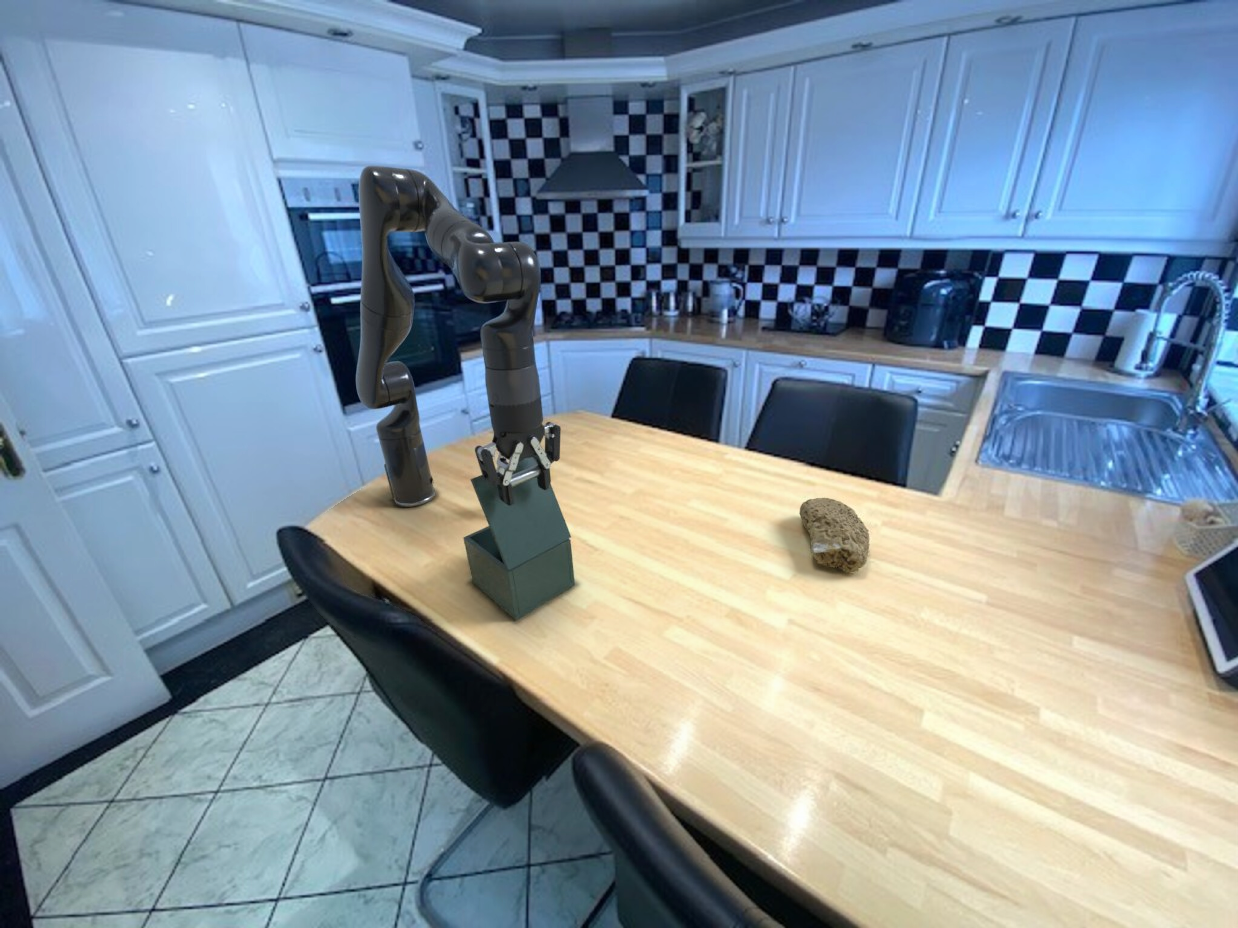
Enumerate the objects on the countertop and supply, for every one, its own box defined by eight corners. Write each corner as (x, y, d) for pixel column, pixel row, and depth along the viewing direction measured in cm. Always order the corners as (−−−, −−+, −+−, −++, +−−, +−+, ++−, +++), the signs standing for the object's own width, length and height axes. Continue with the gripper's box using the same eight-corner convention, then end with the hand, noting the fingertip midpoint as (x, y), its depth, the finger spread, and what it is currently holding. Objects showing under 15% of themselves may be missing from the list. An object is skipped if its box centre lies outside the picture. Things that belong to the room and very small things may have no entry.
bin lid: (470, 479, 78) (482, 474, 74) (536, 454, 86) (551, 448, 82) (506, 570, 80) (521, 570, 75) (569, 537, 87) (585, 536, 83)
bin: (472, 581, 93) (463, 537, 89) (529, 552, 101) (523, 510, 97) (516, 620, 84) (507, 572, 79) (575, 584, 91) (570, 539, 87)
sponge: (870, 584, 90) (870, 510, 104) (868, 552, 86) (869, 480, 100) (793, 578, 96) (803, 509, 110) (788, 548, 92) (799, 481, 106)
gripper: (539, 378, 79) (548, 472, 87) (455, 400, 71) (473, 503, 78) (569, 388, 74) (576, 487, 82) (483, 413, 66) (499, 522, 73)
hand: (526, 495), depth 80 cm, fingers closed on bin lid, 6 cm apart
